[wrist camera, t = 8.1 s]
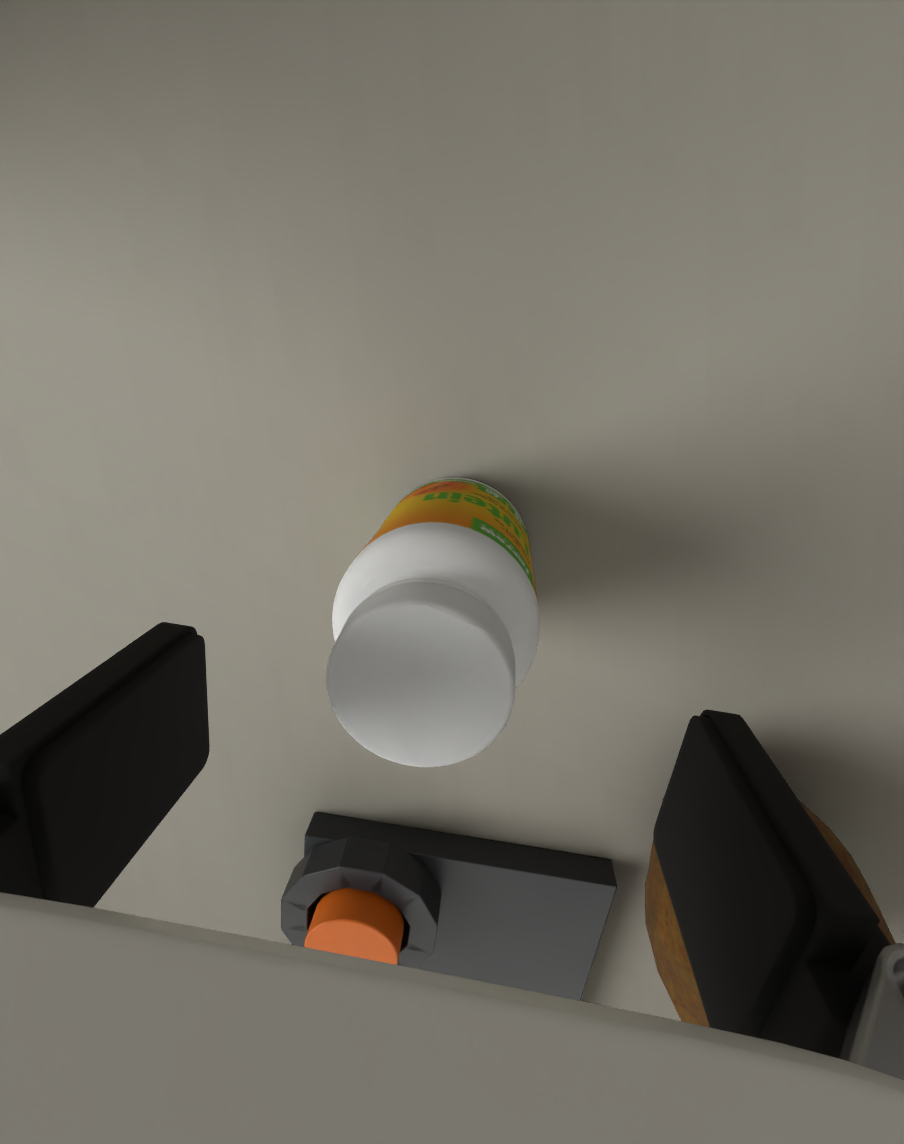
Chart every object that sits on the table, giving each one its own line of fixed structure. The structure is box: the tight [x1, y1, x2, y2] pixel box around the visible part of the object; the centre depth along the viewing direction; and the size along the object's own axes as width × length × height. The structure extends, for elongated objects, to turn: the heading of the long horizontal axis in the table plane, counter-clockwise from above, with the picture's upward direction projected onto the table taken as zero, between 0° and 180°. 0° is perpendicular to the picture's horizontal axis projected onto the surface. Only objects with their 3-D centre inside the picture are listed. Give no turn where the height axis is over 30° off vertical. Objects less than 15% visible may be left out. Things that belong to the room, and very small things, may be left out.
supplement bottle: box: [326, 477, 539, 767], centre depth 16 cm, size 5×5×10 cm
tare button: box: [304, 888, 404, 965], centre depth 23 cm, size 4×4×2 cm
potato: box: [645, 796, 895, 1028], centre depth 20 cm, size 8×12×9 cm
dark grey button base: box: [281, 812, 617, 1001], centre depth 26 cm, size 16×14×3 cm
